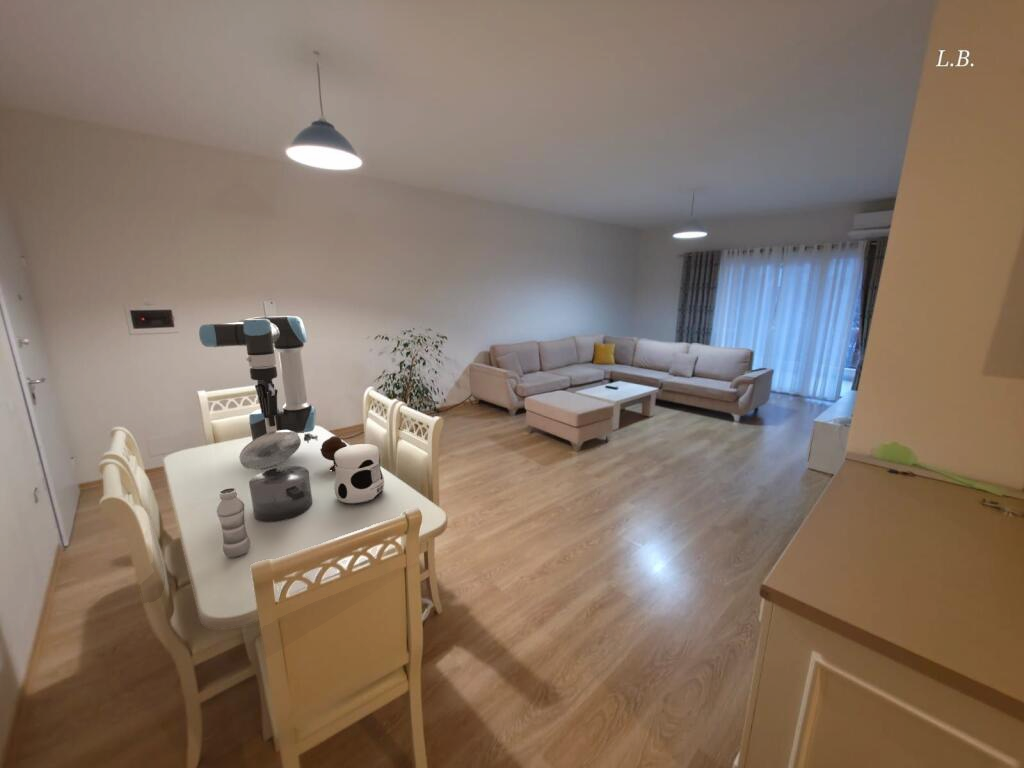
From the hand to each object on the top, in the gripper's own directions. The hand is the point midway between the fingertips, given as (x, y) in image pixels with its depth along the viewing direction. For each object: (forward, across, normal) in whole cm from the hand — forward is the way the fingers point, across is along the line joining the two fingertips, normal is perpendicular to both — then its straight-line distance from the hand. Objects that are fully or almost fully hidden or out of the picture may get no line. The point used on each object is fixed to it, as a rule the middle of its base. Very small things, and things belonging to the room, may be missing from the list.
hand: (272, 434), depth 137 cm
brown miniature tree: (+28, -16, +28) cm, 43 cm away
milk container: (+27, +14, +22) cm, 38 cm away
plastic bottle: (+27, +19, -19) cm, 38 cm away
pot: (+27, +5, 0) cm, 28 cm away
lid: (+7, -3, 0) cm, 8 cm away
